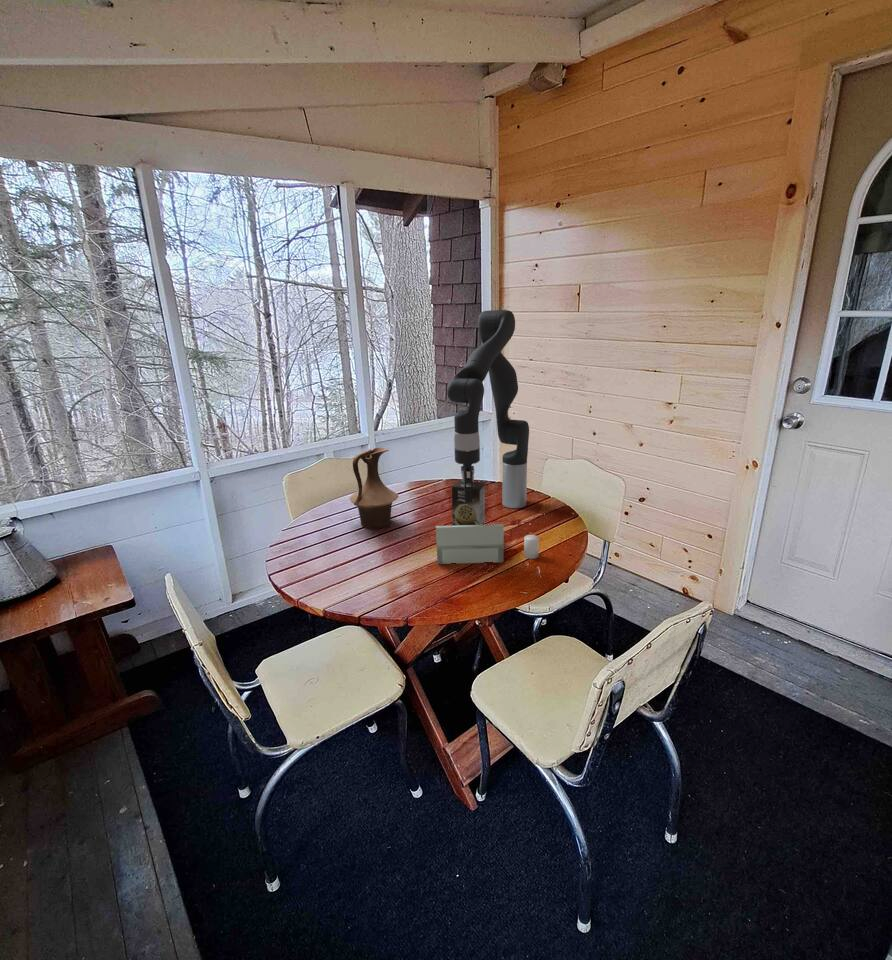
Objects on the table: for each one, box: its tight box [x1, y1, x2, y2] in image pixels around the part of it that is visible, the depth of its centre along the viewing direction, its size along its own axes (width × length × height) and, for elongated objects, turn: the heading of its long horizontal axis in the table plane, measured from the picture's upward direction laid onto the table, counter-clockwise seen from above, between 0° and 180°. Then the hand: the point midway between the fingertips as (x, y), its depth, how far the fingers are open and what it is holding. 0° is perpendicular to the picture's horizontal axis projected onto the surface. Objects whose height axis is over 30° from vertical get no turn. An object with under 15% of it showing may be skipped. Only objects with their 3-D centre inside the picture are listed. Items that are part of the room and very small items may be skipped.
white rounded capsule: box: [523, 534, 540, 560], centre depth 158 cm, size 4×4×6 cm
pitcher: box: [349, 447, 399, 530], centre depth 182 cm, size 18×17×28 cm
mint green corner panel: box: [435, 523, 505, 565], centre depth 160 cm, size 14×20×12 cm
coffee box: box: [451, 480, 486, 526], centre depth 159 cm, size 9×6×16 cm
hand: (468, 496), depth 158 cm, fingers open, 8 cm apart
